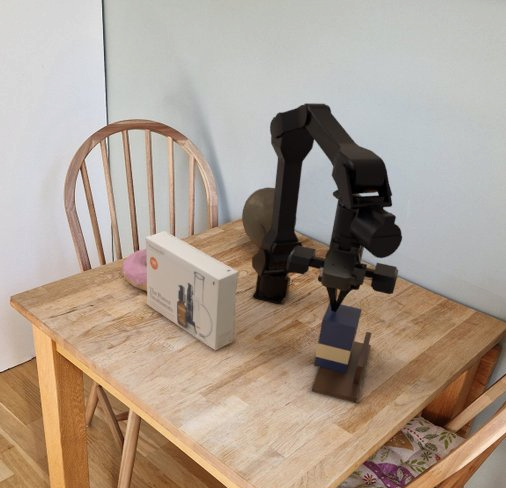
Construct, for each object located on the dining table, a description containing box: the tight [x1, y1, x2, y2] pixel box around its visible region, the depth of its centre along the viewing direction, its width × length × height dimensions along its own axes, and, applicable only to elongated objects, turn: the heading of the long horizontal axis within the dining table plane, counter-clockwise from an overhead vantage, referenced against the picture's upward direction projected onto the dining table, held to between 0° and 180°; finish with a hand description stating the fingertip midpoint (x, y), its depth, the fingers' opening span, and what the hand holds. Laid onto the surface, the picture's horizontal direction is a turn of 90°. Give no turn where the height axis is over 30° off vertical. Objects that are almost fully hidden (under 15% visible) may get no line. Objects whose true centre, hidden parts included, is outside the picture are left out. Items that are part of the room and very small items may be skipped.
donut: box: [121, 248, 147, 292], centre depth 136 cm, size 16×15×5 cm
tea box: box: [313, 302, 362, 373], centre depth 114 cm, size 10×7×6 cm
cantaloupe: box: [241, 186, 297, 249], centre depth 154 cm, size 14×14×15 cm
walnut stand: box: [311, 331, 372, 404], centre depth 114 cm, size 8×18×5 cm, turn 163°
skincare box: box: [145, 230, 239, 351], centre depth 119 cm, size 21×5×16 cm, turn 46°
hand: (334, 310), depth 111 cm, fingers closed
